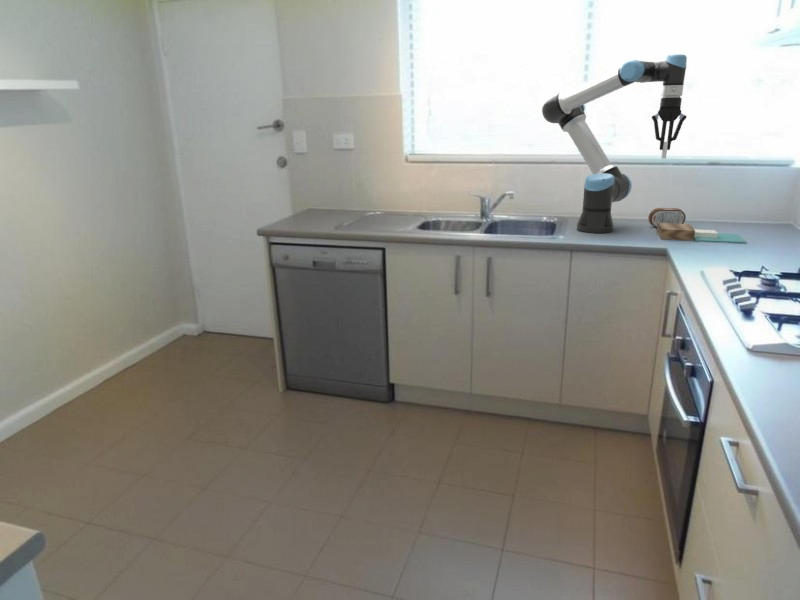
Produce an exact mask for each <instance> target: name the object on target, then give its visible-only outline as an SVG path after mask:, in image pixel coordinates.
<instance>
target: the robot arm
mask: <svg viewBox="0 0 800 600" xmlns="http://www.w3.org/2000/svg"><path fill="white" fill-rule="evenodd" d="M687 59H688V57H687V55H686V54H670V55H669V54H668V55H667V56H666V58H665V60H663V61H644V60H637V59H633V60H627V61H626V62H625V63H623V64H622V66H620V67H618V68H616V69H614V70H611V71H609V72H607V73H605V74H604V75H603V74H602V75H600V76H599V77H596V78H595V79H592V80H590V81H588V82H585V83H584V84H582V85H579V86H577V87H575V88H573V89H572V90H571V89H570V90H568V91H566V92H565V91H561V92H559V93H557V94H554V95H552V96H550V97H548V98H547V99H546V100H545V101H544V103H543V105H542V107H541V112H542V116H543V118H544V119H545V121H546V122H548V123H549V124H550V123H551V124H558V126H559V127H560V129H561V130H562V132H564V133H565V132H566V133H567V134H568V135H569V136H570V139H571V140H572V141H573V143H574V145H575V146H576V148H577V150H578V152H579V153H580V155H581V156H582V159H583V160H584V162H585V163H586V165H587V167H588V168H589V169H590V171H591V173H592V174H590V175H589V174H588V175H587V176H586V177H585V181H584V185H583V187H584V190H583V199H582V211H581V214H580V216H579V218H578V220H577V223H576V230H577V231H579V232H585V233H590V234H591V233H594V234H605V233H612V232H613V231H614V227H615V226H614V220H613V217H612V203H615V202H616V203H617V202H620V201H622V200H624V199H625V198H627V197H628V196H629V195H630V193H631V191H632V181H631V179H630V177H629V176H628V175H626V174H625V173H622V172H621V170H620V169H619V166H617V165H613V164H612V163H611V161H610V160H609V157H608V156H607V154H606V153H605V152H604V150H603V148H602V146H601V144H600V142H598V140H597V138H596V137H595V135H594V133H593V131H592V130H591V129H590V126H589V125H588V123H587V122H586V118H587V115H586V113H585V105H586V104H588V103H591V102H593V101H595V100H597V99H600V98H601V97H604V96H606V95H609V94H611V93H613V92H615V91H618V90H620V89H622V88H624V87H626V86H628V85H631V84H634V83H652V82H653V83H655V82H662V88H661V98H660V102H659V103H660V104H659V109H658V111H657V113H656V114H653V115H651V120H653V121H652V122H653V125H654V133H655V134H654V135H655V140H656V141H658V142H659V150H660V151H661V156H660V157H661V159H662V160H663V159H664V160H665V159H667V153H668V151H670V149H671V144H672V142H673V141H676V140H677V138H678V136H679V134H680V131H681V129H682V126H683V124H684V123H683V122H684V121H685V120H687V115H685V114H683V113H682V110H681V107H682V100H683V99H682V96H683V91H684V85H685V84H684V83H685V77H686V71H687V70H686V69H687V61H688V60H687ZM659 118H660V120H661V121H662V125H661V126H662V127H661V133H660V128H659V123H658V120H659ZM678 118H679V121H678V122H677V125H676V127H675V131H674V133H673V130H674V124H675V123H674V122H675V121H676V120H677V119H678ZM668 122H669V123H668ZM667 124H669V125H668V132H667V140H666V141H665V138H666V131H667Z"/></svg>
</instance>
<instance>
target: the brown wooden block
mask: <svg viewBox="0 0 800 600" xmlns="http://www.w3.org/2000/svg"><path fill="white" fill-rule="evenodd" d="M694 229H695V228H693V226H692V225H691V224H690V223H683V224H676V223H658V226H657V227H656V234H657V235H658V237H659V239H660V238H661V239H660V240H669V239H672V240H673V239H674V240H675V241H690V240H694V234H695V230H694ZM672 240H671V241H672ZM674 240H673V241H674ZM694 241H695V240H694Z"/></svg>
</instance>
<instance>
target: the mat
mask: <svg viewBox="0 0 800 600" xmlns="http://www.w3.org/2000/svg"><path fill="white" fill-rule="evenodd" d="M717 233H718V237H717V238H701V237H694V241H695V242H700V241H703V242H704V243H720V242H726V244H741V243H748V241H746V240H745V239H744V238H743V237H742V236H741V235H739V234H738V233H731V232H730V233H726V232H717ZM703 242H702V243H703ZM727 242H728V243H727Z"/></svg>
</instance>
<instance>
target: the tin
mask: <svg viewBox="0 0 800 600" xmlns="http://www.w3.org/2000/svg"><path fill="white" fill-rule="evenodd" d="M686 218H687V217H686V214H685V212H684V211H683V210H682V209H681V208H678V207H675V208H674V207H658V208H657V207H656V208H654V209H652V210H651V212H650V213H649V215H648V222H649V224H650V225H651V226H653V227H655V228H657V226H658V223H676V224H685V221H686Z"/></svg>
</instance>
